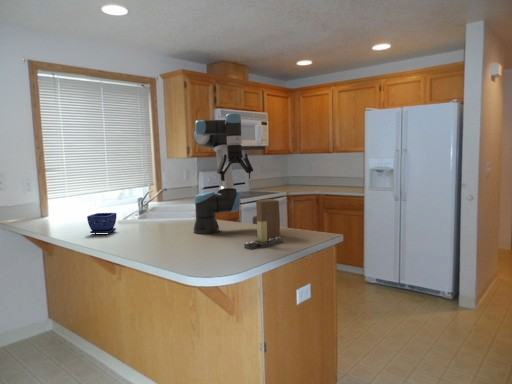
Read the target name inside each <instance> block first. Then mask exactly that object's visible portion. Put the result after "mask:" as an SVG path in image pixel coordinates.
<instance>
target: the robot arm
mask: <svg viewBox="0 0 512 384" xmlns="http://www.w3.org/2000/svg"><path fill="white" fill-rule="evenodd" d="M194 128H195V129H194V130H195V131H194V133H193V141H194V142H195V143H196V144H197V145H199V146H201V147H204V148H213V149H212V150H213V151H214V152H215V154H216V166H217V171H216V173H217V174H218V187H219V188H218V190H217V191H216V192H217V193H215V191H205V192H200V193H198V194H195V198H194V204H195V205H194V207H195V208H194V209H195V221H194V227H193V233H194V234H198V235H199V234H200V235H208V234H209V235H210V234H215V233H218V232H219V231H220V227H219V224H218V221H217V217H216V214H223V213H224V214H225V213H227V214H229V213H235V212H236V213H237V212H238V211H239V209H240V205H241V204H240V203H241V193H240V192H238V191H237V189H236V188H235V186H234V179H233V168H232V164H239V165H240V166H241V167H242V168H243V169H242V170H244V171H245V172H244V185H245V186H250V179H251V173H252V172H253V171H254V169H253V166H252V164H251V162H250V160H249V158H248V154H247V153H243V146H242V143H243V142H242V117H241V114H240V113H237V112H236V113H227V114H226V115H225V119H207V120H206V119H200V120H195V122H194Z"/></svg>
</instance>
